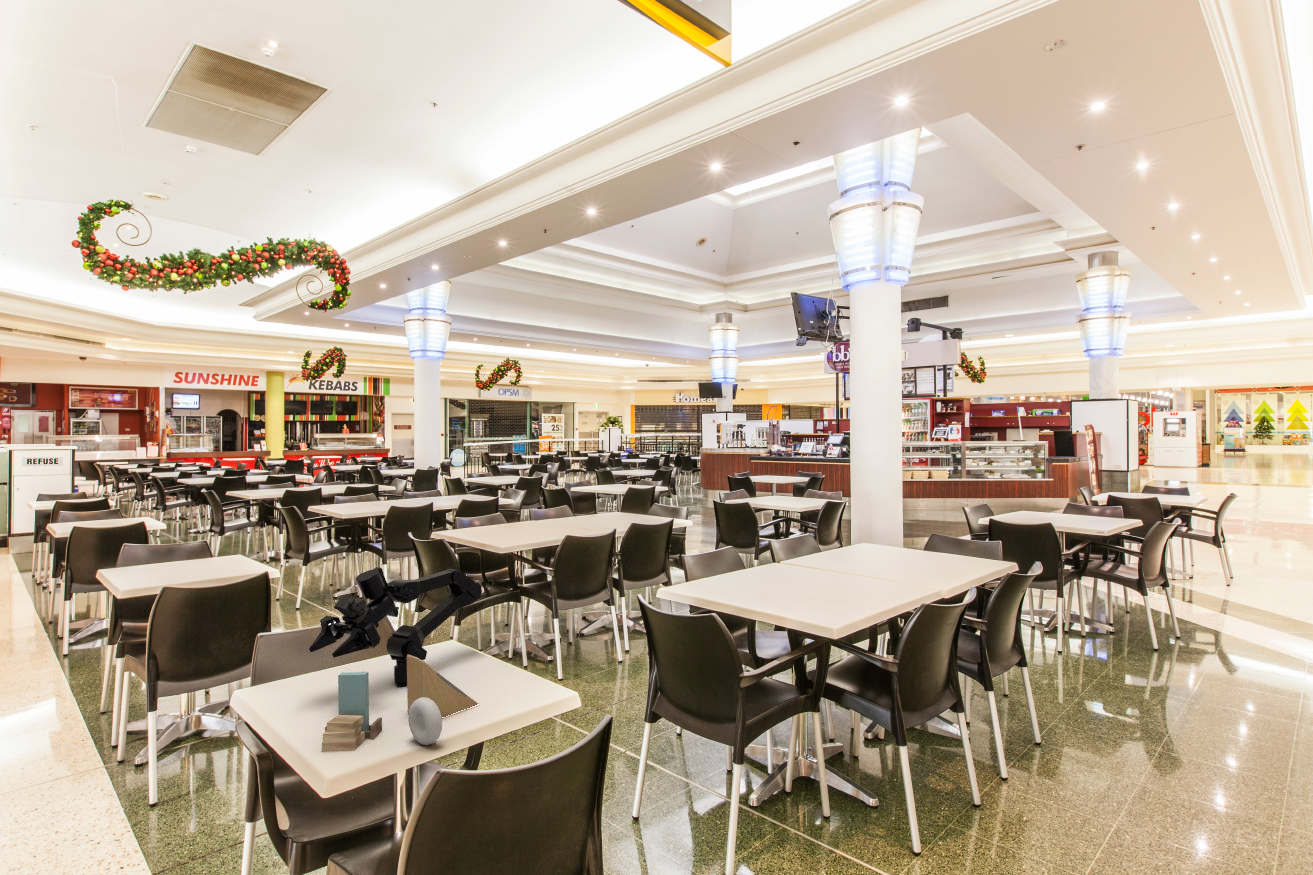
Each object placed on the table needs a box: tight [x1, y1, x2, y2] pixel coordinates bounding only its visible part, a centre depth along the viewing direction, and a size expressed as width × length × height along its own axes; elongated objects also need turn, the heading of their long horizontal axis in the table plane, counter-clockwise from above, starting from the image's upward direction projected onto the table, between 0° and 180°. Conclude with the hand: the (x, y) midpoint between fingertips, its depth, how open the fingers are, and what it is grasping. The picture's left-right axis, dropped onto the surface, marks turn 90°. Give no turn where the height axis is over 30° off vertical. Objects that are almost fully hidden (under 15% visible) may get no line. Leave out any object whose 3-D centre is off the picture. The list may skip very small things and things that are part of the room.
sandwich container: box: [406, 655, 479, 718], centre depth 157 cm, size 9×15×15 cm, turn 137°
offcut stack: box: [321, 714, 366, 753], centre depth 138 cm, size 5×7×6 cm
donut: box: [407, 697, 443, 746], centre depth 139 cm, size 10×4×10 cm, turn 54°
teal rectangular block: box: [337, 671, 370, 731], centre depth 143 cm, size 2×6×14 cm, turn 91°
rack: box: [324, 716, 383, 740], centre depth 143 cm, size 4×11×3 cm, turn 91°
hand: (321, 653), depth 154 cm, fingers open, 9 cm apart
